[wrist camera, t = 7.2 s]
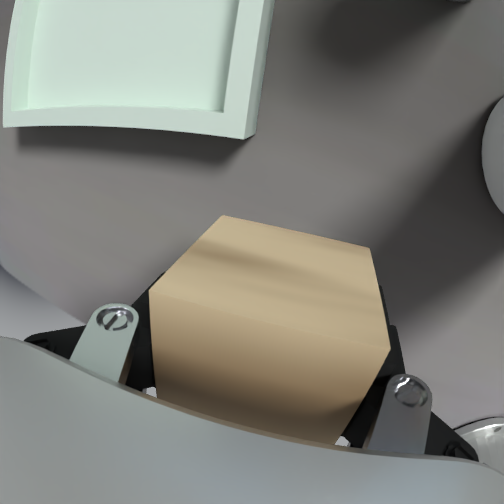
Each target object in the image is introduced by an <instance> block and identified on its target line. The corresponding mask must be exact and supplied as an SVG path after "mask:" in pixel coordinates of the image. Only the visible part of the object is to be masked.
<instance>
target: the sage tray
mask: <svg viewBox="0 0 504 504" xmlns="http://www.w3.org/2000/svg"><path fill="white" fill-rule="evenodd" d="M274 4H275V0H16V1H15V5H14V10H13V16H12V21H11V27H10V33H9V40H8V47H7V55H6V65H5V77H4V95H3V127H21V126H108V127H129V128H144V129H157V130H169V131H180V132H189V133H198V134H207V135H215V136H222V137H230V138H237V139H246V138H248V137H250V136H252V135H254V134H255V133H256V125H257V118H258V111H259V104H260V97H261V91H262V84H263V77H264V70H265V63H266V56H267V50H268V43H269V36H270V30H271V23H272V17H273V10H274Z"/></svg>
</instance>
